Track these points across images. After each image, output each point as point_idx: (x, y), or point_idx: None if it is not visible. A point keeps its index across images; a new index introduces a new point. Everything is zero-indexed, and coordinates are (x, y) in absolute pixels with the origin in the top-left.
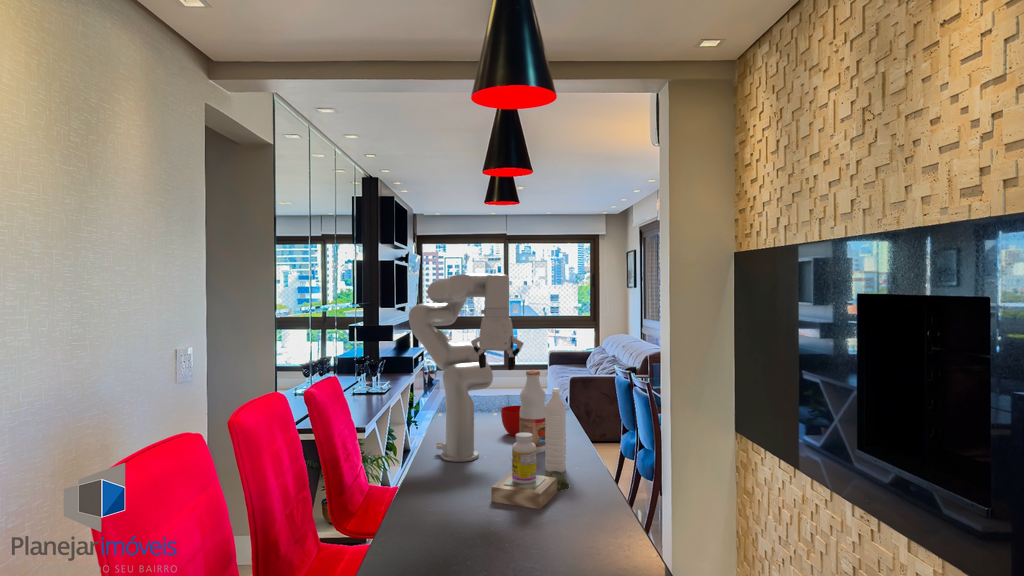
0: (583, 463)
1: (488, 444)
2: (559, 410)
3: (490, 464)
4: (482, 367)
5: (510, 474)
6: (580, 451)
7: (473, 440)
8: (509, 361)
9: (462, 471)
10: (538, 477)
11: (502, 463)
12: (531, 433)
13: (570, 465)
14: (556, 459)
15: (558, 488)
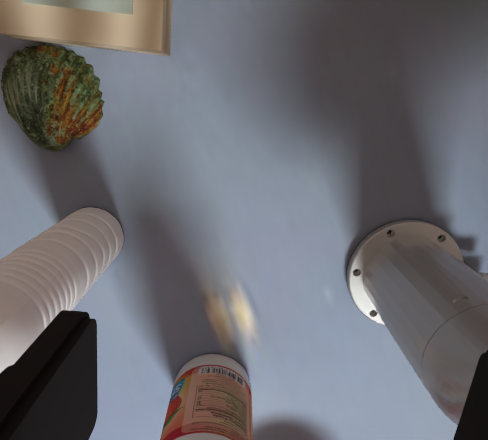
0: None
1: (353, 404)
2: None
3: (292, 232)
4: (481, 365)
5: (153, 19)
6: None
7: (377, 301)
8: (8, 384)
9: (354, 143)
10: (48, 3)
11: (260, 250)
12: (199, 394)
13: None
14: (64, 219)
15: (20, 56)
